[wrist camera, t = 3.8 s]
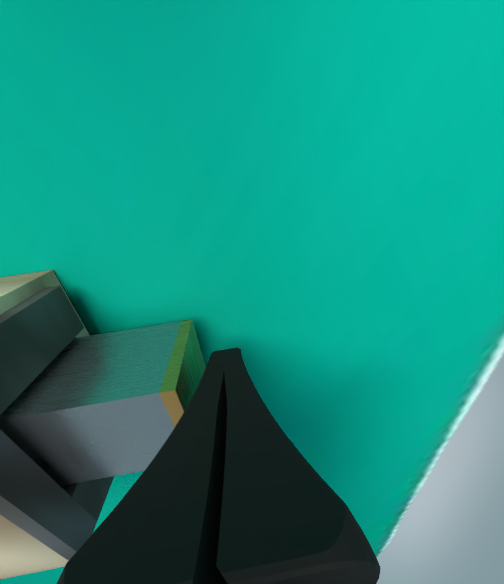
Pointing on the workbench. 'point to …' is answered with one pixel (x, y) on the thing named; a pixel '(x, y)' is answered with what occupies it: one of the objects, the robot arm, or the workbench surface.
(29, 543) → the sleeve
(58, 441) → the peg
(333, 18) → the workbench surface
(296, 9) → the workbench surface
